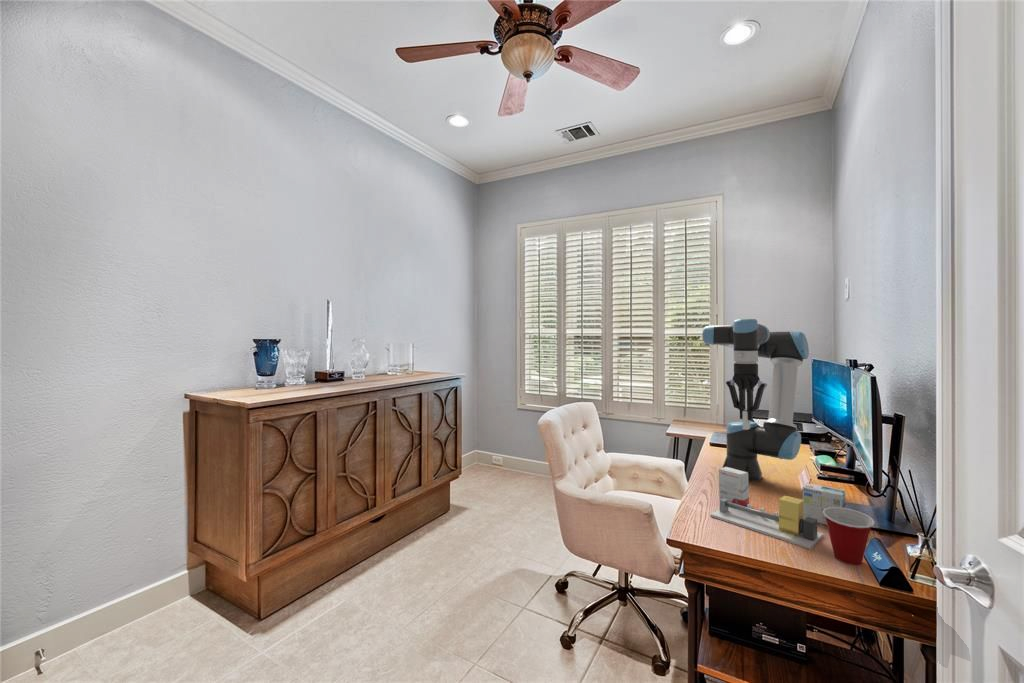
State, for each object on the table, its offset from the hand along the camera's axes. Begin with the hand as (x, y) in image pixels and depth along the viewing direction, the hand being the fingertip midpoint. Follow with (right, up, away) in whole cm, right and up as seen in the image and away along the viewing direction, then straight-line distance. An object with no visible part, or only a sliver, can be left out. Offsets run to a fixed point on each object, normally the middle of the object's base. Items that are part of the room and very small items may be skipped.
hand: (746, 428), depth 147 cm
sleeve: (+1, -26, -22) cm, 34 cm away
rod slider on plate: (-4, -27, -16) cm, 32 cm away
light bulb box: (+18, -28, -13) cm, 35 cm away
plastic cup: (+6, -28, -36) cm, 46 cm away
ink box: (-3, -28, +2) cm, 28 cm away
